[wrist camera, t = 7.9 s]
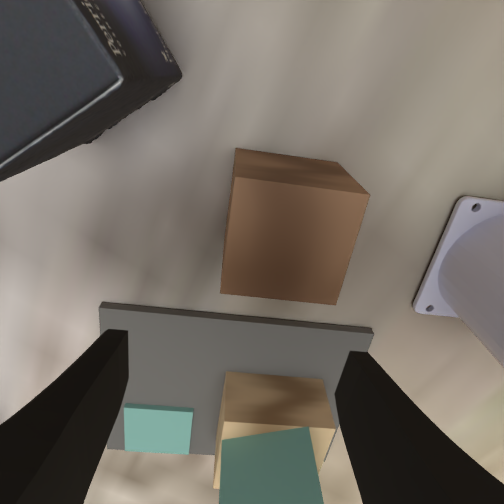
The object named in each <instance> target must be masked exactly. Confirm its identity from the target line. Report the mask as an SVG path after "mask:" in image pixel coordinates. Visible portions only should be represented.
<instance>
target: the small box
mask: <svg viewBox="0 0 504 504" xmlns="http://www.w3.org/2000/svg"><path fill="white" fill-rule="evenodd" d="M181 78H182V73H181V71H180V69H179V67H178V65H177V63H176V61H175V60H174V58H173V56H172V54H171V53H170V51H169V49H168V48H167V46H166V44H165V42H164V41H163V39H162V37H161V35H160V34H159V32H158V30H157V29H156V27H155V25H154V24H153V22H152V20H151V18H150V17H149V15H148V13H147V12H146V10H145V8H144V6H143V5H142V3H141V1H140V0H0V182H1V181H3V180H6V179H7V178H9V177H12V176H14V175H16V174H18V173H21V172H23V171H25V170H27V169H29V168H31V167H34V166H36V165H38V164H41V163H42V162H45V161H47V160H50V159H52V158H54V157H56V156H58V155H60V154H62V153H64V152H66V151H68V150H70V149H72V148H75V147H77V146H79V145H81V144H88V143H92V141H93V140H94V139H97V138H98V137H99V136H100V135H101V134H102V133H103V132H104V131H105V130H106V129H110V128H112V126H115V125H116V124H117V123H118V122H119V121H120V120H121V119H123V118H126V117H127V115H129V114H131V113H132V112H134V111H135V110H137V109H140V108H141V107H142V106H143V105H144V104H146V103H148V102H149V101H150V100H155V99H156V98H157V97H159V96H161V95H162V93H164V92H166V90H167V89H169V88H170V87H171V86H172V85H173V84H175V83H176V82H178V81H179V80H180V79H181Z"/></svg>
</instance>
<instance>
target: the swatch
mask: <svg viewBox="0 0 504 504" xmlns="http://www.w3.org/2000/svg"><path fill="white" fill-rule="evenodd" d="M193 409H194V408H187V407H173V406H159V405H145V404H131V403H125V406H124V434H125V451H135V452H153V453H170V454H187V455H189V447H190V438H191V428H192V419H193Z"/></svg>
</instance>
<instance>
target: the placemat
mask: <svg viewBox="0 0 504 504" xmlns="http://www.w3.org/2000/svg"><path fill="white" fill-rule="evenodd" d="M99 320H100V336H101V335H102V334H103V333H104V331H106V330H107V329H117V330H128V349H129V379H128V383H127V387H126V391H125V394H124V398H123V401H122V405H121V408H120V411H119V414H118V416H117V419H116V421H115V424H114V426H113V429H112V431H111V434H110V436H109V439H108V441H107V449H117V450H125V434H124V406H125V403H131V404H145V405H159V406H173V407H187V408H194V409H193V419H192V428H191V438H190V447H189V454H203V455H215V448H216V434H217V427H218V421H219V414H220V408H221V402H222V395H223V389H224V382H225V376H226V371H228V372H241V373H253V374H265V375H277V376H290V377H302V378H314V379H323V383H324V387H325V390H326V394H327V398H328V401H329V405H330V409H331V413H332V416H333V420H334V424H335V427H336V430H335V433H334V435H333V438H332V440H331V443H330V446H329V448H328V451H327V453H326V456H325V459H324V461H323V462H325V460H326V457H327V454H328V452H329V449H330V447H331V444H332V442H333V439H334V436H335V434H336V431H337V429H338V426H339V419H338V413H337V407H336V401H335V395H334V393H335V391H336V388H337V385H338V382H339V380H340V377H341V374H342V371H343V368H344V366H345V363H346V360H347V357H348V354H349V352H350V351H361V352H368V349H369V346H370V344H371V341H372V339H373V336H374V333H373V331H372V329H371V328H363V327H352V326H342V325H332V324H322V323H311V322H301V321H291V320H280V319H270V318H260V317H250V316H239V315H229V314H219V313H208V312H198V311H188V310H178V309H167V308H157V307H147V306H136V305H126V304H116V303H106V302H102V303H101V305H100V307H99Z"/></svg>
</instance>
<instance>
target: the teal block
mask: <svg viewBox="0 0 504 504" xmlns="http://www.w3.org/2000/svg"><path fill="white" fill-rule="evenodd" d="M219 504H324V502H323V497H322V492H321V487H320V482H319V477H318V472H317V466H316V461H315V456H314V451H313V446H312V441H311V436H310V431H309V426H307V427H301V428H294V429H288V430H282V431H275V432H269V433H262V434H256V435H250V436H243V437H237V438H230V439H224V440H222V447H221V470H220V492H219Z"/></svg>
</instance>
